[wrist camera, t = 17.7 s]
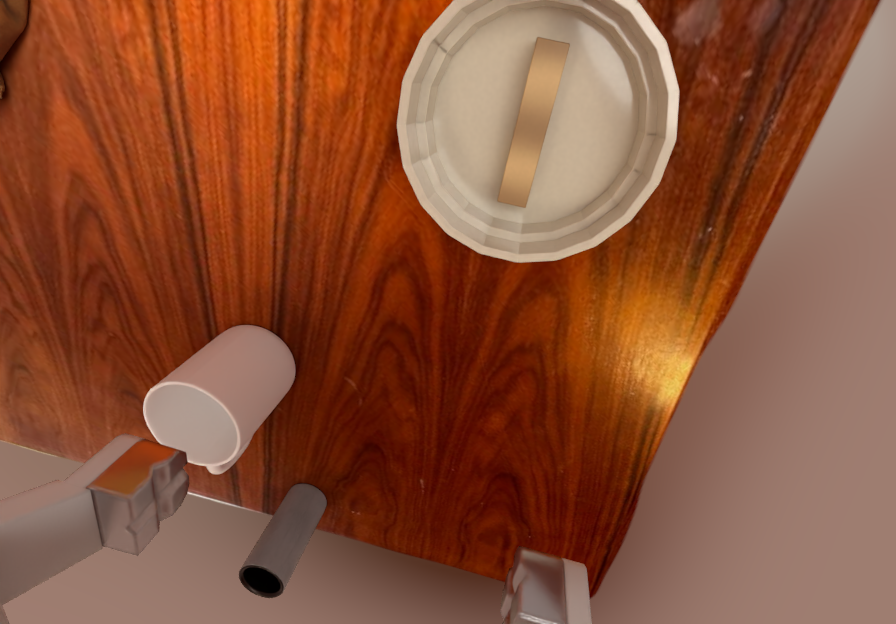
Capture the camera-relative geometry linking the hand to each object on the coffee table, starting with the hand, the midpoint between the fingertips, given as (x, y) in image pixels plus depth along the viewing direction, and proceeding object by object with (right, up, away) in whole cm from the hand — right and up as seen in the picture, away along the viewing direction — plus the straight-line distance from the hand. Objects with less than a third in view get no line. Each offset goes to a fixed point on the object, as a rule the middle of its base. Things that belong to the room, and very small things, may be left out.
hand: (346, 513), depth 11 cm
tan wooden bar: (+8, +18, +22) cm, 29 cm away
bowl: (+8, +18, +23) cm, 30 cm away
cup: (-16, -1, +37) cm, 40 cm away
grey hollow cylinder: (-13, -16, +43) cm, 48 cm away
